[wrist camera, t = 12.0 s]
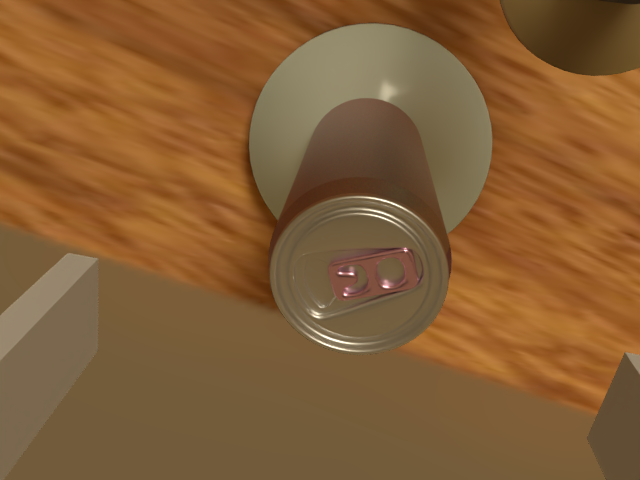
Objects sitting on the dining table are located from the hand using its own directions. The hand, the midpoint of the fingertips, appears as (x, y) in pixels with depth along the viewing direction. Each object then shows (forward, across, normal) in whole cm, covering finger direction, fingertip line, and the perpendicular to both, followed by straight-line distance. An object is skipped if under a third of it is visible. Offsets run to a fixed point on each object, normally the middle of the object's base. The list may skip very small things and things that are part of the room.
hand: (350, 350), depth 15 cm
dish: (+20, 0, 0) cm, 20 cm away
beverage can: (+19, 0, 0) cm, 19 cm away
